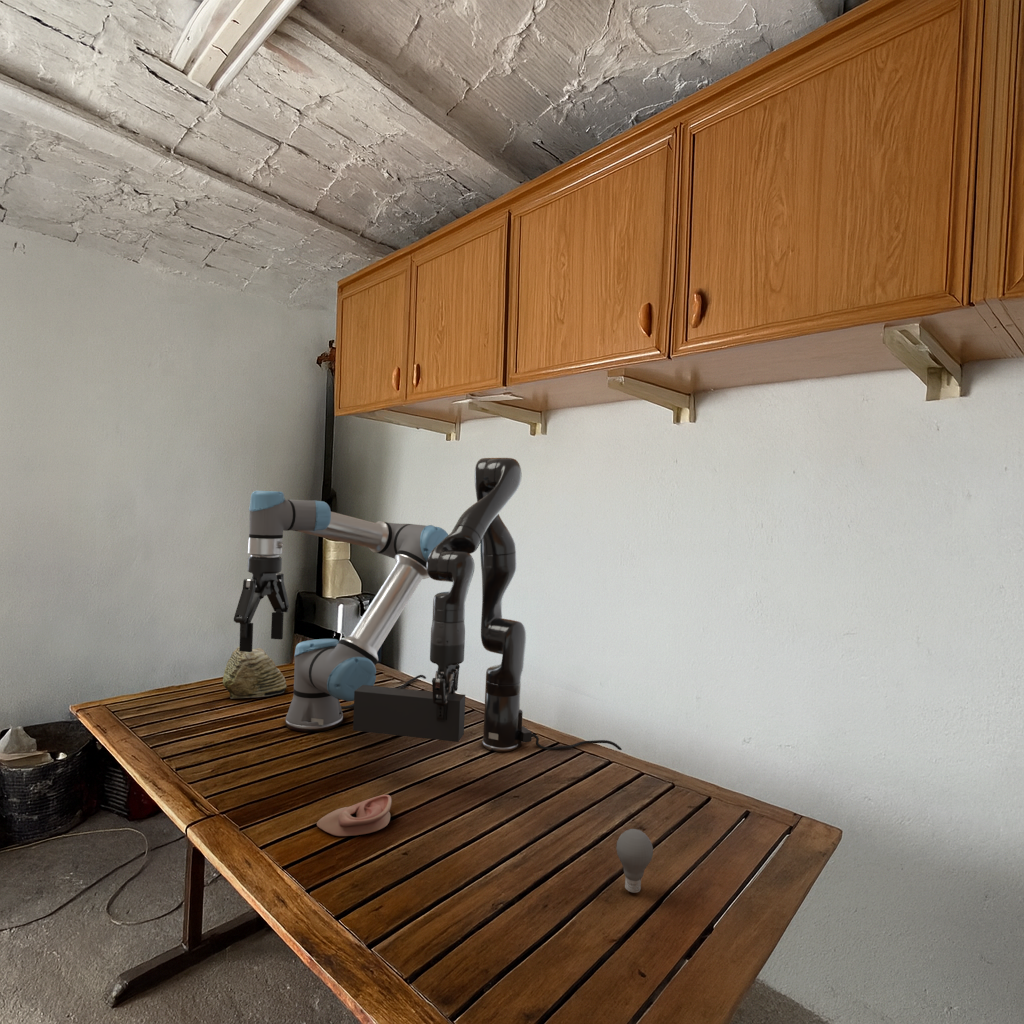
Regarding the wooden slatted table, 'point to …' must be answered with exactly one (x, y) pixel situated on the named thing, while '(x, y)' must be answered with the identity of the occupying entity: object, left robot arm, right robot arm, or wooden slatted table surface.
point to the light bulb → (634, 857)
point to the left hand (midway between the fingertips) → (261, 645)
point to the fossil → (252, 675)
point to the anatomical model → (358, 817)
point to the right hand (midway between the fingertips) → (444, 716)
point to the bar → (407, 713)
